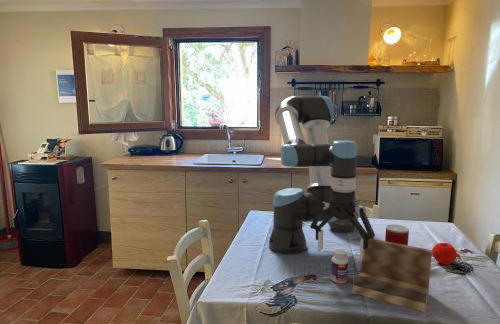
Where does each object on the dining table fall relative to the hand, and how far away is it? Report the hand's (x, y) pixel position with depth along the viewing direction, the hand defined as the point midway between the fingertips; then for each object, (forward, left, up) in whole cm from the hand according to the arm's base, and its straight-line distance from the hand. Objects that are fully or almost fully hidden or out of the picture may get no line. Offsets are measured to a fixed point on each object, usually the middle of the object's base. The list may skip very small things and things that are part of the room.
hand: (340, 253), depth 114 cm
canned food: (+13, +29, -9) cm, 33 cm away
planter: (-13, +47, -9) cm, 50 cm away
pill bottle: (0, 0, -9) cm, 9 cm away
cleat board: (+16, 0, -9) cm, 18 cm away
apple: (+29, +31, -9) cm, 44 cm away
